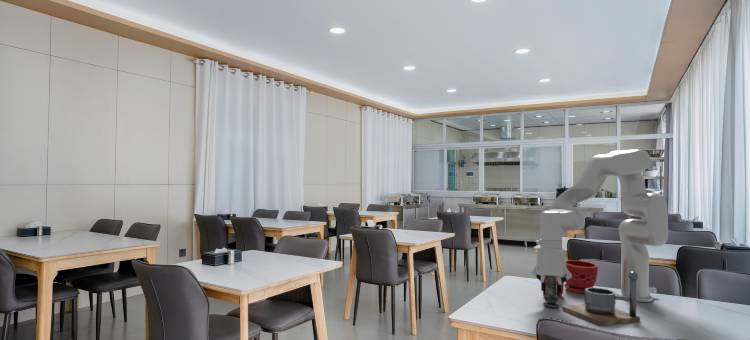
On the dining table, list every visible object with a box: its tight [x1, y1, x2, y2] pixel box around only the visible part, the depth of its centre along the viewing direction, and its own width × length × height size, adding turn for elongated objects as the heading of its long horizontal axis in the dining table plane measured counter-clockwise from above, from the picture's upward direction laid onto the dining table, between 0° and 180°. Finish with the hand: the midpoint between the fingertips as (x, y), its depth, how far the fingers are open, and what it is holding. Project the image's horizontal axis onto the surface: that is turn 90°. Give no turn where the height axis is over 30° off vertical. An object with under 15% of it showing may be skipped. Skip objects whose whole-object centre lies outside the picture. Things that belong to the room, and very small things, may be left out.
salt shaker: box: [542, 276, 561, 308], centre depth 160 cm, size 6×6×12 cm
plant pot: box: [564, 259, 599, 295], centre depth 183 cm, size 13×13×12 cm
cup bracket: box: [561, 271, 641, 327], centre depth 150 cm, size 17×17×16 cm
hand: (551, 293), depth 160 cm, fingers closed on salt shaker, 4 cm apart
